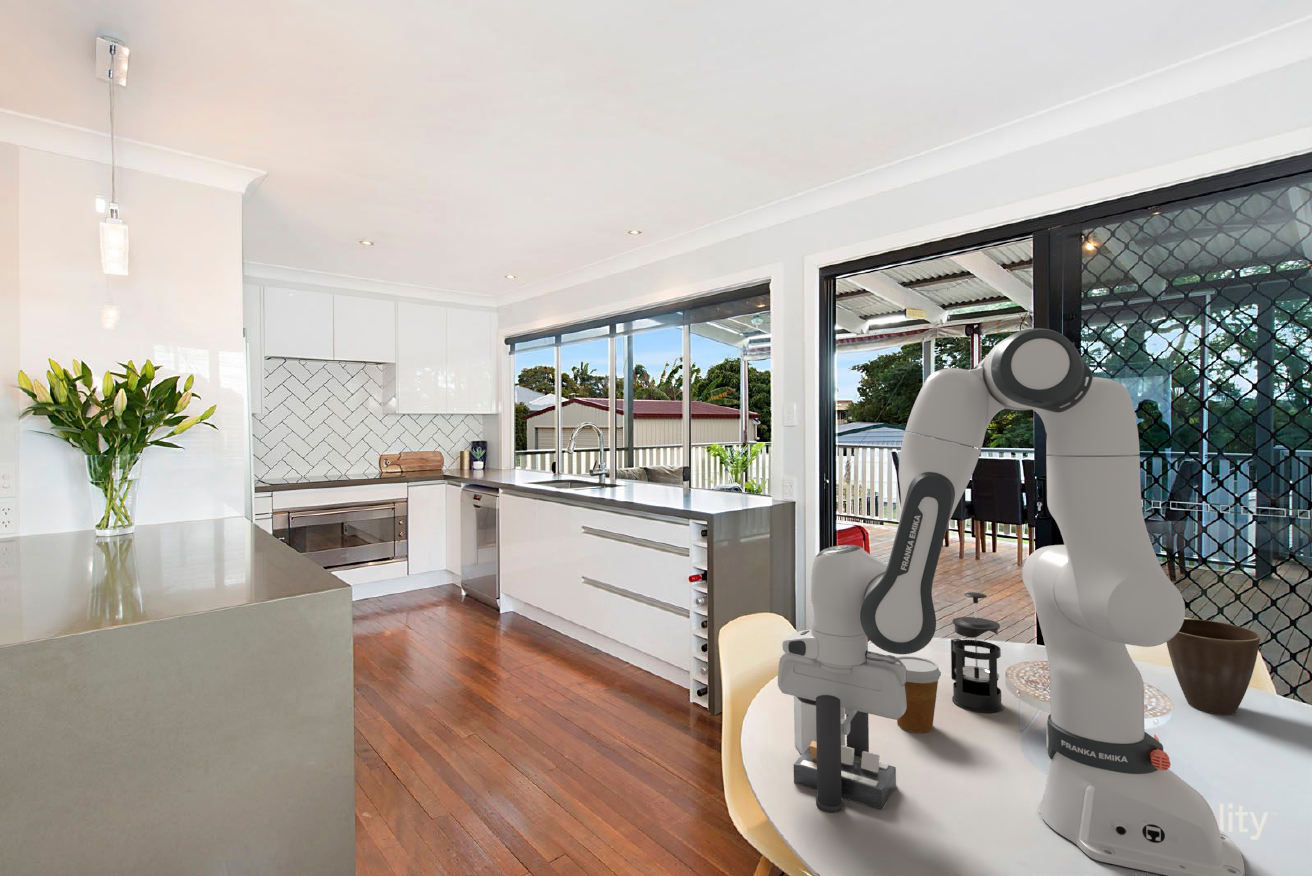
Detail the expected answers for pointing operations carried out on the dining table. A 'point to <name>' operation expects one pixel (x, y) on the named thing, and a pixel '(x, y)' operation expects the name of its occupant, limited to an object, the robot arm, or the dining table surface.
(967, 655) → the french press
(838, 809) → the cord post outer
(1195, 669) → the plant pot
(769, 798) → the dining table surface
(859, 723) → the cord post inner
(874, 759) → the white block
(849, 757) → the white block
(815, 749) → the tripped paddle
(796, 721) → the jar
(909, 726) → the disposable coffee cup
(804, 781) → the breaker panel
